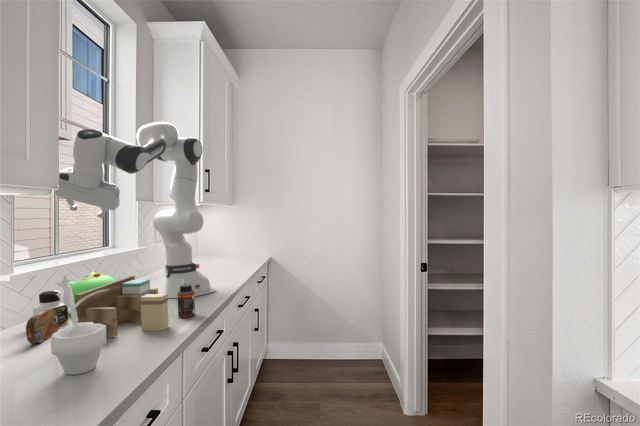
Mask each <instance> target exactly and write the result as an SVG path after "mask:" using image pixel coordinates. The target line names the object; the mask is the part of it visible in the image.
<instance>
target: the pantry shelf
mask: <svg viewBox="0 0 640 426" xmlns="http://www.w3.org/2000/svg"><path fill="white" fill-rule="evenodd" d="M135 277H136V276H135V275H129V276H126V277H123V278H121V279H117V280H116V281H114V282H111V283H108V284H105V285H103V286H100V287H97V288H94V289H91V290H88V291H85V292H82V293H79V294H76V295H75V304H76V303H77V302H78V301H79V300H81V299H82V298H84V297H86V296H88V295H90V294H92V293H95V292H97V291H101V290H106V289H109V290H106V291H103V292H99V293H96V294H94V295H92V296H89V297H88V298H86V299H85V300H84V301H82V302H81V303H80V304H79V305H78V306H77V307H76V313H77V317H78V323H81V322H93V324H103V325H106V337H115V336H116V337H118V336H119V335H118V333H119V332H118V323H119V322H121V323H123V322H124V323H125V322H126V323H129V322H130V323H131V322H132V323H133V322H139V323H140V322H141V302H140V301H141V297H142V296H143V295H123V294H122V284H123V283H125V282H128V281H131V280H136V278H135ZM150 294H159V289H158V288H150ZM117 335H118V336H117ZM116 337H115V338H116Z"/></svg>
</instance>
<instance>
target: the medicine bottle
mask: <svg viewBox="0 0 640 426" xmlns="http://www.w3.org/2000/svg"><path fill="white" fill-rule="evenodd" d="M58 291H59V290H54V289H52V290H47V291H43V292H41V293H39V295H38V298H39V299H38V300H39V301H38V302H39V305H38V306H34V307H33V308H32V312H33V313H32V314H33V315H32V316H34V315H36V314H38V313H40V312H42V311H43V310H47V309H52V308H55V309H56V310H57V311H58V314H59V318H60V323H59V327H62V326H65V325H68V324H69V309H68V307H67V306H66V305H65V304H64V302H63V303H61V302H62V292H61V291H59V293H61V295H60V297H58V296H57V295H56V294H58Z"/></svg>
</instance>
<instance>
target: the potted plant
mask: <svg viewBox="0 0 640 426" xmlns="http://www.w3.org/2000/svg"><path fill="white" fill-rule="evenodd" d="M63 275H64V276H63V278H62V280H60V281H58V282H55V285H58V286H59V285H60V287H61V286H62V287H61V288H62V289H63V296H62V292H61V293H59V290H57V291H58V294H56V295H57V296H58V297H60V295H61V296H62V297H63V298H62V299H63V303H64V304H65V305H66V306H67V307H68V308H70V317H71V320H72V325H69V326H68V325H67V326H66V327H64V328H62V329H58V331H57V332H55V333H53V334H52V336H51V337H50V348H51V350H50V351H51V352H50V353H51V354H52V355H54V356H56V358H57V360H58V362H59V363H60V365H61V369H62V370H63V372H64V373H65V374H67V375H71V376H76V375H82V373H83V374H86V373H88V372H90V371H92V370H93V369H95V368H96V367H97V364H98V361H99V358H100V355H101V351H102V347H103V346H105V345H107V338H106V325H103V324H93V322H81V323H78V317H77V313H76V307H77V306H78V305H79V304H80V303H81V302H82V301H84V300H85V299H86V298H88V297H89V296H92V295H94V294H96V293H99V292H103V291H106V290H109V289H106V290H101V291H97V292H95V293H92V294H90V295H88V296H86V297H84V298H82V299H81V300H79V301H78V302H77V303H76V304H75V305H74V301H73V293H72V288H71V285H69V284H68V282H71V280H69V279H67V277H66V274H65V273H64V274H63ZM85 372H86V373H85Z"/></svg>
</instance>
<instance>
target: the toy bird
mask: <svg viewBox="0 0 640 426" xmlns="http://www.w3.org/2000/svg"><path fill="white" fill-rule="evenodd" d="M114 281H117V280H116V279H115V278H114V277H113V276H110V275H108V274H101V273H100V272H99V273H98V272H95V271H91V272H90V273H89V274H88V275H86V276H83V277H81V278H79V279H77V280H76V281H70V282H68V284H69V285H71V288H72V293H73V301H74V305H75V295H76V294H79V293H82V292H85V291H88V290H91V289H94V288H97V287H100V286H103V285H105V284H108V283H111V282H114ZM58 286H60V285H58ZM60 287H61V288H62V286H60Z"/></svg>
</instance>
